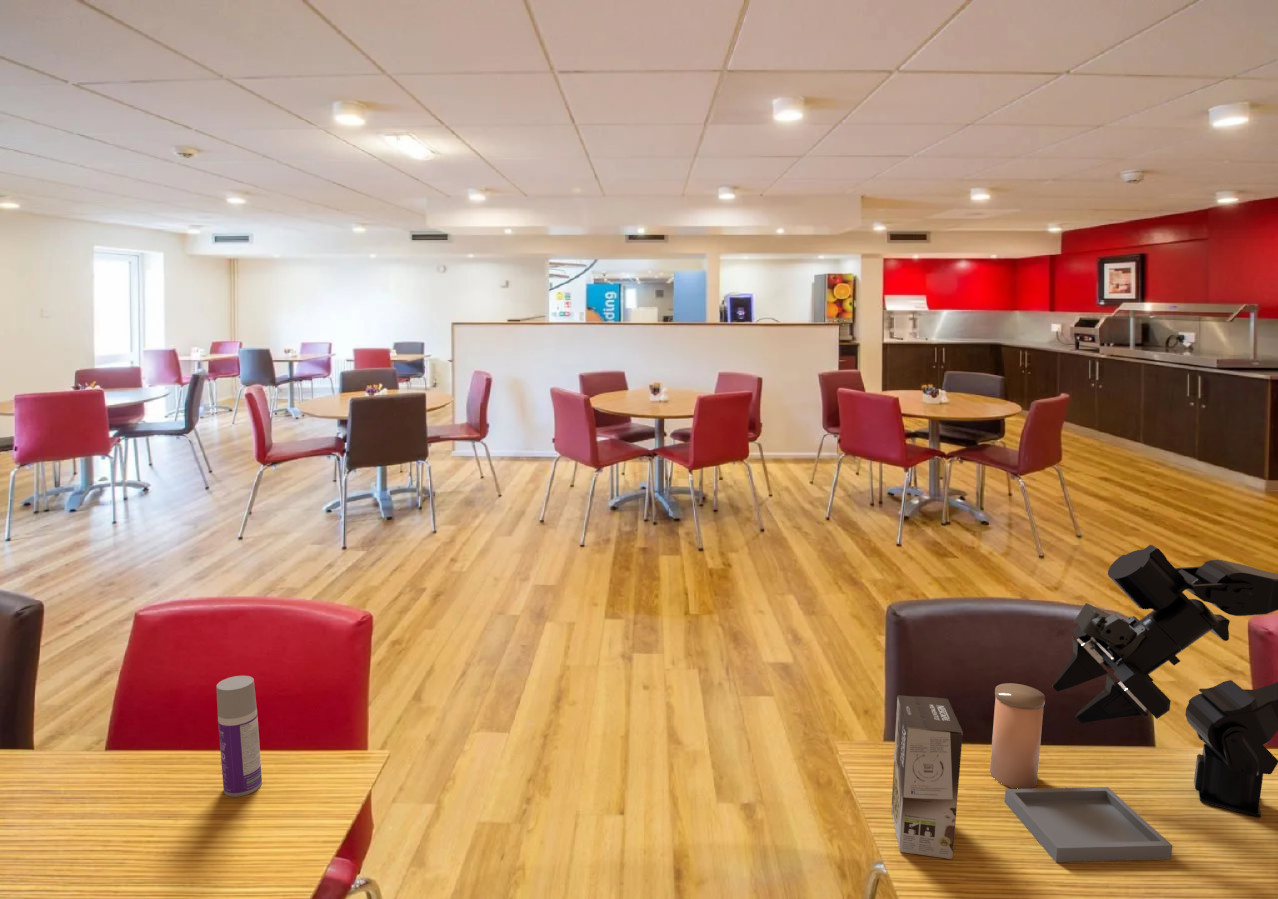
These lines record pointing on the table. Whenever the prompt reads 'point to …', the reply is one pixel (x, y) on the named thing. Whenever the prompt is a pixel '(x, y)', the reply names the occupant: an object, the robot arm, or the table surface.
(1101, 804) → the tray
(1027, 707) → the brown and pink cylinder
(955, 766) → the coffee box
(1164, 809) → the table surface
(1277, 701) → the robot arm
